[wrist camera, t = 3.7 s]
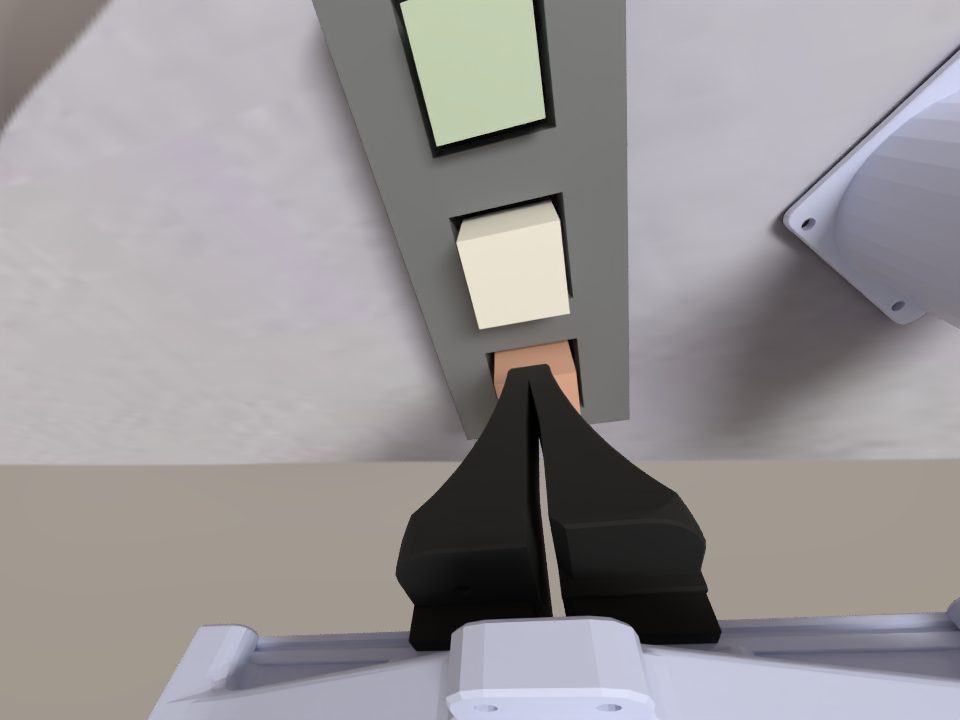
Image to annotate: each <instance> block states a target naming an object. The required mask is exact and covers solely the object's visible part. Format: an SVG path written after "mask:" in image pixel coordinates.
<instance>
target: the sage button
mask: <svg viewBox="0 0 960 720" xmlns="http://www.w3.org/2000/svg"><path fill="white" fill-rule="evenodd" d="M400 6H401V10H402V14H403V17H404V21H405V25H406V29H407V33H408V37H409V41H410V45H411V48H412V52H413V56H414V60H415V64H416V68H417V72H418V76H419V79H420V83H421V87H422V91H423V95H424V99H425V103H426V107H427V110H428V114H429V118H430V122H431V126H432V130H433V134H434V138H435V141H436V145H437V146H441V145H445V144H449V143H452V142H456V141H460V140H464V139H468V138H471V137H475V136H479V135H483V134H487V133H491V132H494V131H498V130H502V129H506V128H510V127H513V126H517V125H521V124H525V123H529V122H532V121H536V120H540V119H544V118H545V109H544V100H543V91H542V82H541V73H540V64H539V55H538V46H537V37H536V28H535V19H534V10H533V1H532V0H408V1H405V2H402V3H400Z"/></svg>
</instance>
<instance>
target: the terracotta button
mask: <svg viewBox="0 0 960 720" xmlns="http://www.w3.org/2000/svg"><path fill="white" fill-rule="evenodd" d="M539 364H547V365H549V366H550V369H551V372H552V374H553V376H554V378H555V380H556V382H557V383H558V385H559V387H560V388H561V390H562V391H563V393H564V394H565V396H566V397H567V398H568V400H569V401H570V403H571V404H572V405H573V406H574V408H575V409H576V410H577V411H578V413H579V414H580V415H581V413H580V403H579V394H578V385H577V375H576V370H575V366H574V362H573V359H572V355H571V351H570V347H569V344H568V340H563V341H557V342H551V343H545V344H539V345H533V346H527V347H521V348H515V349H509V350H503V351H497V352H495V368H494V386H495V390H496V394H497V397H498V400H499V397H500V395H501V392H502V390H503V387H504V384H505V381H506V377H507V373H508V371H509V370H510V369H512V368H519V367H525V366H532V365H539Z"/></svg>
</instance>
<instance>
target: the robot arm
mask: <svg viewBox="0 0 960 720" xmlns="http://www.w3.org/2000/svg"><path fill="white" fill-rule="evenodd" d="M807 219H809V223H808V224H807V225H806V226H805V227H803V228H801V227H802V224H803V223H804V221H806V220H807ZM783 223H784V225H785V226H786V227H787V228H788V229H789V230H790V231H791V232H793V233H794V234H795V235H796V236H797V237H798V238H799V239H801V240H802V241H803V242H804V243H805V244H806V245H807V246H808V247H810V248H811V249H812V250H813V251H814V252H815V253H816V254H818V255H819V256H820V257H821V258H822V259H823V260H824V261H825V262H827V263H828V264H829V265H830V266H831V267H832V268H833V269H835V270H836V271H837V272H838V273H839V274H840V275H841V276H843V277H844V278H845V279H846V280H847V281H848V282H849V283H850V284H852V285H853V286H854V287H855V288H856V289H857V290H858V291H860V292H861V293H862V294H863V295H864V296H865V297H866V298H867V299H869V300H870V301H871V302H872V303H873V304H874V305H875V306H877V307H878V308H879V309H880V310H881V311H882V312H883V313H884V314H886V315H887V316H888V317H889V318H890V319H891V320H893V321H894V322H896V323H898V324H900V325H905V324H909V323H911V322H913V321H915V320H917V319H918V318H920V317H921V316H923V315H924V314H926V313H927V312H928V313H930V314H932V315H934V316H936V317H938V318H940V319H942V320H944V321H946V322H948V323H950V324H951V325H953V326H955V327H957V328H959V329H960V50H959V51H958V52H957V53H956V54H955V55H954V56H952V57H951V58H950V59H949V60H948V61H947V62H946V63H945V64H944V65H943V66H942V67H941V68H940V69H939V70H937V71H936V72H935V73H934V74H933V75H932V76H931V77H930V78H929V79H928V80H927V81H926V82H925V83H924V84H922V85H921V86H920V87H919V88H918V89H917V90H916V91H915V92H914V93H913V94H912V95H911V96H910V97H909V98H907V99H906V100H905V101H904V102H903V103H902V104H901V105H900V106H899V107H898V108H897V109H896V110H895V111H894V112H892V113H891V114H890V115H889V116H888V117H887V118H886V119H885V120H884V121H883V122H882V123H881V124H880V125H879V126H877V127H876V128H875V129H874V130H873V131H872V132H871V133H870V134H869V135H868V136H867V137H866V138H865V139H864V140H862V141H861V142H860V143H859V144H858V145H857V146H856V147H855V148H854V149H853V150H852V151H851V152H850V153H849V154H847V155H846V156H845V157H844V158H843V159H842V160H841V161H840V162H839V163H838V164H837V165H836V166H835V167H834V168H832V169H831V170H830V171H829V172H828V173H827V174H826V175H825V176H824V177H823V178H822V179H821V180H820V181H819V182H817V183H816V184H815V185H814V186H813V187H812V188H811V189H810V190H809V191H808V192H807V193H806V194H805V195H803V196H802V197H801V198H800V199H799V200H798V201H797V202H796V203H795V204H794V205H793V206H792V207H791V208H790V209H789V210H788V211H787V212H786V213H785V215H784V217H783ZM895 303H896V304H895ZM894 304H895V305H894ZM539 439H540V443H541V448H542V452H543V457H544V466H545V478H546V489H547V502H548V515H549V521H550V526H551V532H552V537H553V542H554V548H555V552H556V558H557V564H558V570H559V577H560V586H561V594H562V599H563V603H564V608H565V613H566V617H553V614H552V606H551V597H550V589H549V580H548V571H547V562H546V553H545V544H544V535H543V527H542V518H541V509H540V492H539ZM705 550H706V540H705V538H704V536H703V533H702V531H701V530H700V527H699V525H698V524H697V522H696V521H695V519H694V517H693V515H692V514H691V512H690V511H689V509H688V508H687V506H686V505H685V504H684V502H683V501H682V500H681V498H680V497H679V495H678V494H677V493H676V492H674V491H673V490H671V489H669V488H668V487H666V486H664V485H663V484H661V483H660V482H658V481H657V480H655V479H654V478H652V477H650V476H649V475H648V474H646V473H645V472H643V471H642V470H641V469H639V468H638V467H636V466H635V465H634V464H632V463H631V462H630V461H629V460H627V459H626V458H625V457H624V456H622V455H621V454H620V453H619V452H618V451H616V450H615V449H614V448H613V447H611V446H610V445H609V444H608V443H607V442H606V441H605V440H604V439H603V438H602V437H601V436H600V435H599V434H598V433H597V432H596V431H595V430H594V429H593V428H592V427H591V426H590V425H589V424H588V423H587V422H586V421H585V420H584V419H583V417H582V416H581V415H580V414H579V413H578V411H577V410H576V409H575V408H574V406H573V405H572V404H571V403H570V401H569V400H568V398H567V397H566V396H565V394H564V393H563V391H562V390H561V388H560V387H559V385H558V383H557V382H556V380H555V378H554V376H553V374H552V372H551V369H550V366H549V365H547V364H539V365H532V366H525V367H519V368H512V369H510V370H509V371H508V373H507V377H506V381H505V384H504V387H503V390H502V392H501V395H500V397H499V400H498V402H497V404H496V407H495V409H494V411H493V413H492V415H491V417H490V419H489V421H488V423H487V425H486V427H485V429H484V430H483V432H482V434H481V436H480V437H479V439H478V440H477V442H476V443H475V445H474V447H473V448H472V450H471V451H470V452H469V454H468V455H467V456H466V458H465V459H464V461H463V462H462V463H461V465H460V466H459V467H458V468H457V470H456V471H455V472H454V473H453V474H452V476H451V477H450V478H449V479H448V480H447V481H446V482H445V483H444V484H443V486H442V487H441V488H440V489H439V490H438V491H437V492H436V493H435V494H434V495H433V496H432V497H431V498H430V499H429V500H428V501H427V502H426V503H425V504H424V505H422V506H421V507H420V508H419V509H418V510H417V511H416V512H415V513H413V514H412V515H411V518H410V520H409V523H408V525H407V528H406V531H405V534H404V537H403V540H402V544H401V548H400V552H399V557H398V562H397V567H396V577H397V580H398V582H399V583H400V585H401V586H402V588H403V589H404V590H405V592H406V594H407V595H408V596H409V598H410V599H411V601H412V602H413V604H414V611H413V617H412V623H411V629H410V631H408V632H407V631H404V632H378V633H377V632H376V633H349V634H323V635H322V634H320V635H292V636H264V637H259V635H258V634H257V633H256V632H255V631H254V630H253V629H252V628H250V627H248V626H245V625H241V624H217V625H203V626H201V627H199V629H198V631H197V633H196V634H195V636H194V638H193V640H192V642H191V643H190V645H189V647H188V649H187V651H186V652H185V654H184V656H183V658H182V659H181V661H180V663H179V665H178V667H177V668H176V670H175V672H174V674H173V675H172V677H171V679H170V681H169V683H168V684H167V686H166V688H165V690H164V692H163V693H162V695H161V697H160V699H159V700H158V702H157V704H156V706H155V707H154V709H153V711H152V713H151V715H150V717H149V718H148V720H960V598H958V599H956V600H955V601H953V602H952V603H951V605H950V606H949V607H948V609H947V612H936V613H909V614H881V615H852V616H825V617H796V618H772V619H771V618H769V619H742V620H717V619H716V616H715V614H714V611H713V609H712V606H711V604H710V602H709V599H708V597H707V594H706V593H707V592H708V588H707V585H706V582H705V580H704V577H703V575H702V572H701V567H702V562H703V558H704V554H705Z"/></svg>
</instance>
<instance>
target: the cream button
mask: <svg viewBox="0 0 960 720" xmlns="http://www.w3.org/2000/svg"><path fill="white" fill-rule="evenodd" d="M456 243H457V247H458V251H459V255H460V258H461V262H462V266H463V270H464V273H465V277H466V281H467V285H468V288H469V292H470V296H471V300H472V303H473V307H474V311H475V315H476V318H477V322H478V326H479V329H485V328H491V327H496V326H502V325H508V324H513V323H519V322H525V321H530V320H536V319H542V318H547V317H553V316H559V315H564V314H570V310H569V301H568V291H567V282H566V273H565V263H564V254H563V245H562V235H561V226H560V219H559V217H558V215H557V213H556V211H555V208H554V206H553V204H552V202H551V200H550V199H549V200H545V201H541V202H536V203H532V204H527V205H523V206H519V207H514V208H510V209H505V210H501V211H497V212H492V213H488V214H483V215H479V216H475V217H470V218H466V219H463V222H462V225H461V228H460V232H459V235H458V239H457V242H456Z"/></svg>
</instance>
